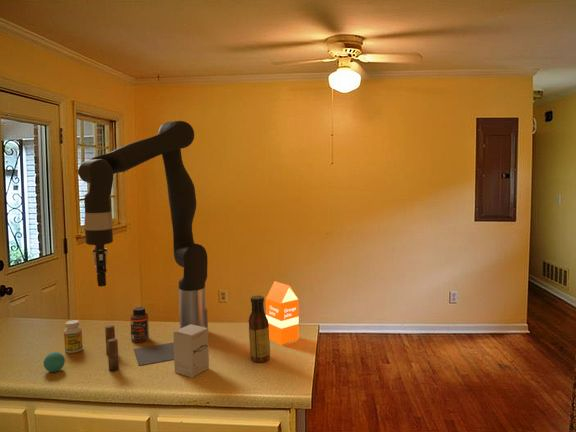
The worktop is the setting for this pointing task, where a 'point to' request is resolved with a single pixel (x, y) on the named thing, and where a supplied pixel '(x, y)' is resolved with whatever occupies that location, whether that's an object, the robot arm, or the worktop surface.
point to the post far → (109, 334)
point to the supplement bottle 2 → (139, 325)
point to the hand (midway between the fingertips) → (101, 283)
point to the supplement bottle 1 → (73, 337)
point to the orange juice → (282, 313)
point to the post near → (113, 355)
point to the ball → (54, 362)
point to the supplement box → (191, 350)
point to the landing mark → (154, 354)
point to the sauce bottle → (259, 331)
